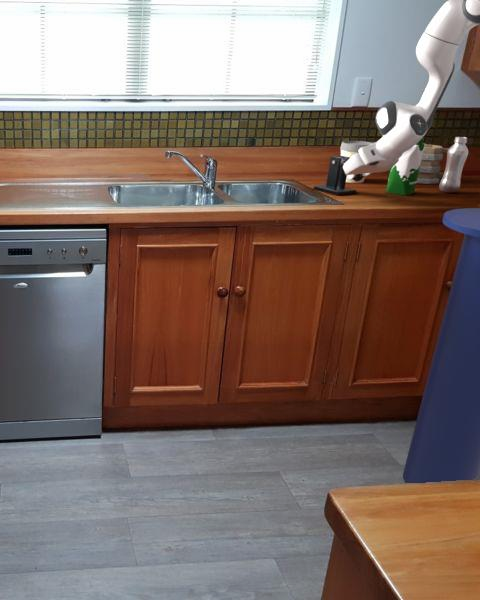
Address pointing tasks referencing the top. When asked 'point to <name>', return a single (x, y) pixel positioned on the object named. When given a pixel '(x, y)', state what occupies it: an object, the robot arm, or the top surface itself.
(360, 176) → the tap lever
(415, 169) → the milk carton
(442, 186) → the silver water bottle
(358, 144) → the reusable coffee cup
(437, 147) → the tankard
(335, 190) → the black lever switch stand
